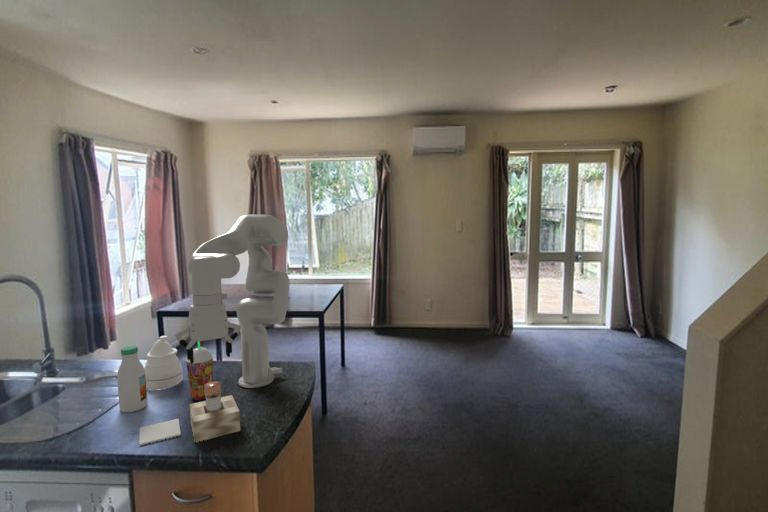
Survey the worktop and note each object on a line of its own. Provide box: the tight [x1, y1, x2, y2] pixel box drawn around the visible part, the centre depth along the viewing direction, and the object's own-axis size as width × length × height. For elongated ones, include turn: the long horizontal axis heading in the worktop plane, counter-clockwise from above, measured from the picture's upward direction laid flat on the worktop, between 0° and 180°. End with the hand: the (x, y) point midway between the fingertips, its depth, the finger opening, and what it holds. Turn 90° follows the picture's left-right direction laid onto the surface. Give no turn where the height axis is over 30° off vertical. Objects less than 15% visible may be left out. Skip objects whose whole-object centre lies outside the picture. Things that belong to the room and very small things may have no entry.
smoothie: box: [185, 341, 214, 401], centre depth 138 cm, size 8×8×20 cm
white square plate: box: [138, 418, 182, 446], centre depth 116 cm, size 10×10×1 cm
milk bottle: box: [116, 345, 148, 413], centre depth 130 cm, size 8×8×20 cm
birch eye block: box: [188, 394, 241, 443], centre depth 118 cm, size 12×12×6 cm
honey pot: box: [143, 335, 184, 391], centre depth 149 cm, size 13×13×18 cm
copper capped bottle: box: [204, 380, 222, 413], centre depth 118 cm, size 4×4×13 cm
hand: (210, 358), depth 116 cm, fingers open, 9 cm apart
